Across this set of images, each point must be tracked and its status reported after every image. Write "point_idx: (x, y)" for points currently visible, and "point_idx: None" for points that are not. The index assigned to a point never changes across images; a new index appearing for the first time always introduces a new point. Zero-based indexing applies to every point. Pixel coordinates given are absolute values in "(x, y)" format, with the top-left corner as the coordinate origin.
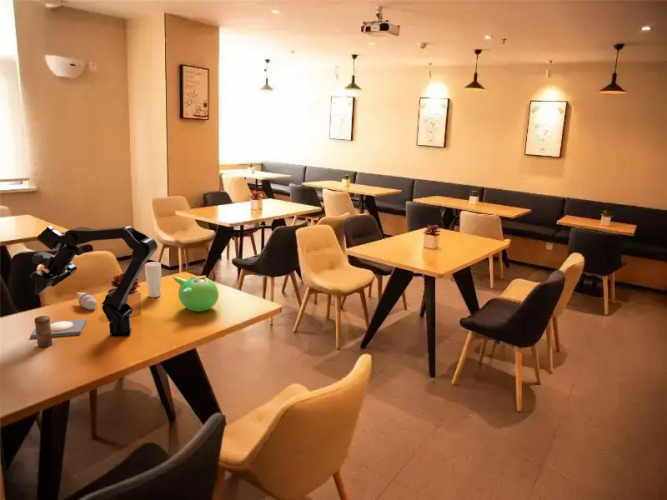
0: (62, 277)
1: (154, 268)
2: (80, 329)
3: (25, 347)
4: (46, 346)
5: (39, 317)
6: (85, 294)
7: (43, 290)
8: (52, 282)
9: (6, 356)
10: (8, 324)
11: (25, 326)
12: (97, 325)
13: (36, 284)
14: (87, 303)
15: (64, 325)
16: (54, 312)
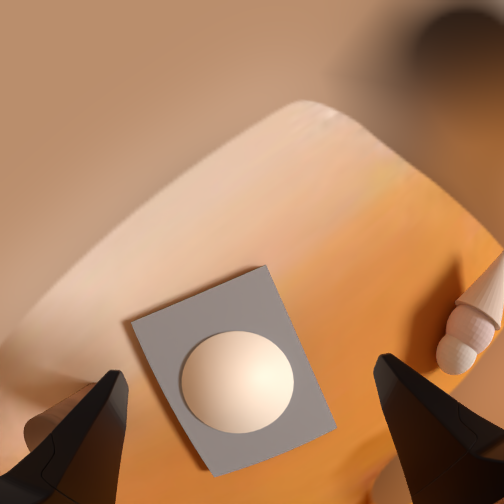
0: (424, 495)
1: None
2: (231, 469)
3: (71, 349)
4: None
5: (48, 434)
6: (492, 319)
7: (114, 472)
8: (395, 384)
9: (18, 327)
10: (247, 140)
11: (242, 215)
12: (306, 474)
13: (32, 464)
14: (449, 355)
15: (248, 401)
16: (396, 232)
